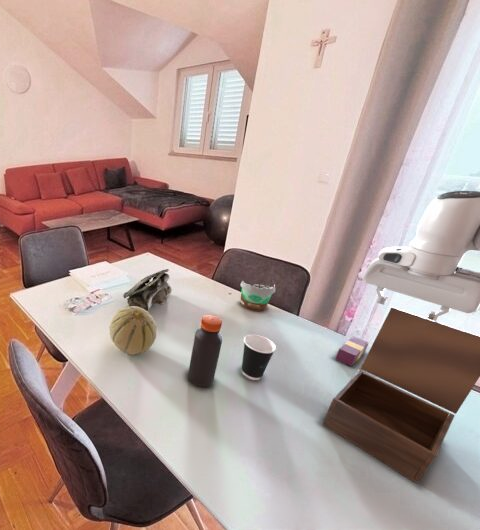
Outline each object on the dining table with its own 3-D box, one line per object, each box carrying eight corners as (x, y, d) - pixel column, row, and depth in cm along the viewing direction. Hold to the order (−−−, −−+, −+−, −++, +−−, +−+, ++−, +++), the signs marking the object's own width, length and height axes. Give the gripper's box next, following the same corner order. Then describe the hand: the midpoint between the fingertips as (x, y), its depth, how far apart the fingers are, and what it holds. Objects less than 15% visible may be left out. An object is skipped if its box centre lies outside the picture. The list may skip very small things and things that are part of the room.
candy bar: (364, 353, 99) (369, 342, 97) (351, 366, 93) (355, 355, 91) (348, 346, 102) (353, 335, 100) (334, 359, 96) (339, 348, 94)
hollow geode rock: (130, 328, 119) (157, 314, 108) (111, 300, 121) (136, 283, 110) (165, 298, 138) (191, 284, 127) (148, 274, 140) (172, 258, 129)
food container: (238, 309, 122) (243, 287, 118) (236, 302, 128) (241, 280, 123) (273, 314, 119) (280, 291, 115) (269, 306, 124) (276, 284, 120)
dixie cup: (236, 361, 95) (244, 331, 91) (266, 369, 92) (275, 339, 87) (235, 378, 89) (243, 347, 84) (267, 388, 85) (277, 355, 81)
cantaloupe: (121, 329, 110) (123, 292, 104) (161, 344, 103) (166, 305, 97) (99, 352, 99) (101, 312, 93) (142, 371, 91) (147, 328, 85)
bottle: (182, 374, 90) (192, 316, 82) (200, 368, 93) (211, 310, 85) (199, 391, 84) (212, 329, 76) (218, 383, 87) (232, 323, 79)
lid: (501, 343, 62) (501, 339, 65) (391, 307, 75) (395, 305, 78) (455, 414, 67) (458, 407, 70) (360, 368, 80) (365, 364, 83)
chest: (417, 484, 62) (436, 456, 59) (321, 424, 75) (333, 398, 72) (437, 441, 71) (455, 415, 68) (348, 394, 83) (359, 369, 80)
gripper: (501, 273, 67) (469, 326, 73) (379, 245, 83) (360, 291, 88) (497, 280, 64) (464, 336, 70) (371, 250, 79) (352, 298, 85)
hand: (405, 311), depth 79 cm, fingers open, 8 cm apart
